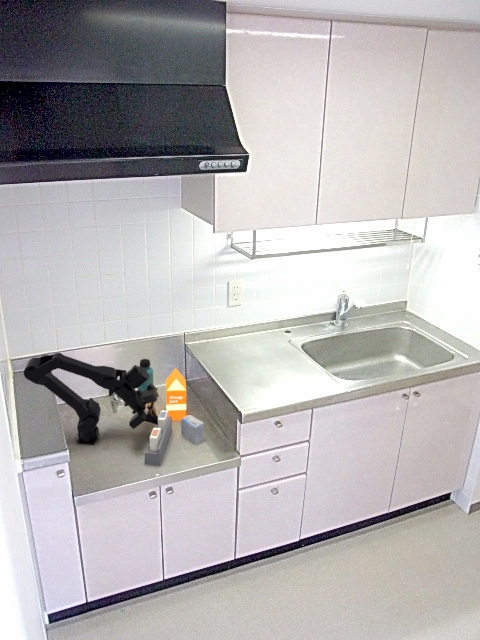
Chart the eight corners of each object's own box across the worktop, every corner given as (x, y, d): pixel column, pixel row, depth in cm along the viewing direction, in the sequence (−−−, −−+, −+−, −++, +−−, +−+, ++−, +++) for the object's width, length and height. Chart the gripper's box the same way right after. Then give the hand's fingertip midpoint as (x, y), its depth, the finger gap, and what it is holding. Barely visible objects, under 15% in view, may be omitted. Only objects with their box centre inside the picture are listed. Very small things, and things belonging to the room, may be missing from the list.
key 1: (150, 461, 190) (149, 437, 186) (154, 450, 196) (153, 427, 192) (157, 462, 190) (156, 438, 186) (161, 451, 196) (160, 427, 192)
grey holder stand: (139, 466, 190) (138, 447, 187) (153, 432, 208) (152, 414, 205) (160, 468, 189) (159, 449, 186) (172, 434, 208) (171, 416, 204)
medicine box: (204, 442, 204) (204, 422, 200) (195, 447, 201) (195, 427, 197) (189, 433, 209) (189, 413, 205) (180, 438, 205) (180, 418, 202)
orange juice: (166, 423, 214) (165, 378, 205) (166, 410, 222) (165, 367, 213) (186, 422, 215) (186, 378, 206) (185, 410, 223) (185, 366, 214)
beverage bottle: (149, 397, 230) (147, 355, 222) (157, 404, 226) (156, 361, 217) (135, 402, 226) (133, 359, 218) (143, 409, 222) (141, 366, 214)
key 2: (158, 442, 200) (157, 418, 196) (162, 432, 206) (161, 409, 202) (165, 443, 200) (164, 419, 196) (168, 433, 206) (168, 410, 202)
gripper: (137, 397, 186) (169, 427, 190) (150, 370, 203) (180, 398, 207) (115, 414, 189) (147, 443, 193) (130, 386, 206) (159, 414, 210)
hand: (159, 423), depth 201 cm, fingers closed, pressing on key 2
